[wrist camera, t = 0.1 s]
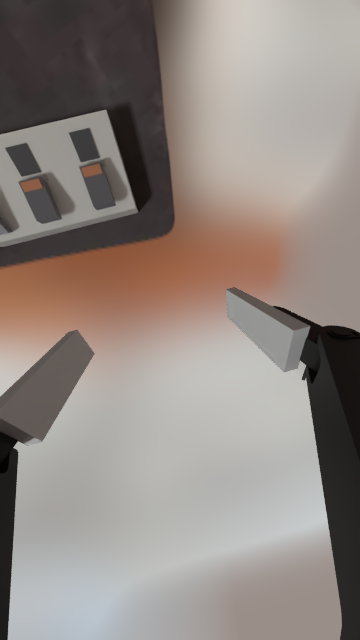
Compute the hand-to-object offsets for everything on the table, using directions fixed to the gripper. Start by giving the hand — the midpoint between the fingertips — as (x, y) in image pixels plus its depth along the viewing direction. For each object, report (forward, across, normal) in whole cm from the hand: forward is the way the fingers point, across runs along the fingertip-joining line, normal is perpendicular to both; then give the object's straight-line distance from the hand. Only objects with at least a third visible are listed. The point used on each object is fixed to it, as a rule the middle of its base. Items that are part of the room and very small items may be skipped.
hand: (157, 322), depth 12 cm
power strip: (+28, -20, +19) cm, 39 cm away
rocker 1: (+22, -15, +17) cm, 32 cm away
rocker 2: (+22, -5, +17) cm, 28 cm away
